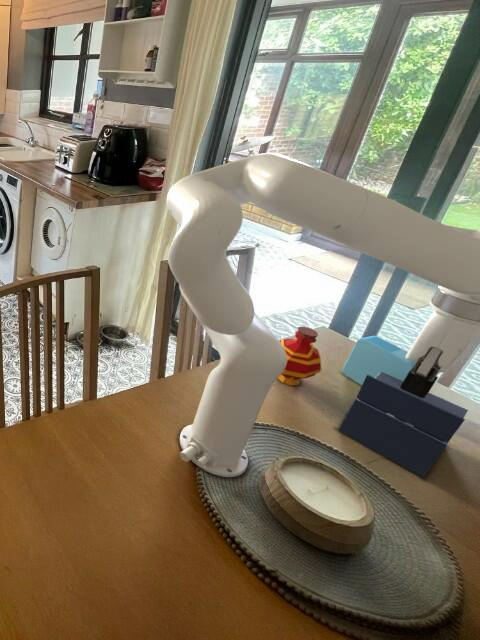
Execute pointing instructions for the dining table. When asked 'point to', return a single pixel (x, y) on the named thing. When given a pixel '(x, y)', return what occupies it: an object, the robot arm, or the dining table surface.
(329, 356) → the dining table surface
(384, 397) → the flap
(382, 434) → the carton
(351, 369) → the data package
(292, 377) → the potion bottle
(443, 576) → the dining table surface
